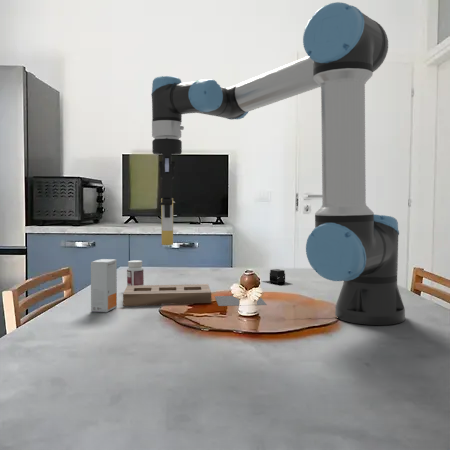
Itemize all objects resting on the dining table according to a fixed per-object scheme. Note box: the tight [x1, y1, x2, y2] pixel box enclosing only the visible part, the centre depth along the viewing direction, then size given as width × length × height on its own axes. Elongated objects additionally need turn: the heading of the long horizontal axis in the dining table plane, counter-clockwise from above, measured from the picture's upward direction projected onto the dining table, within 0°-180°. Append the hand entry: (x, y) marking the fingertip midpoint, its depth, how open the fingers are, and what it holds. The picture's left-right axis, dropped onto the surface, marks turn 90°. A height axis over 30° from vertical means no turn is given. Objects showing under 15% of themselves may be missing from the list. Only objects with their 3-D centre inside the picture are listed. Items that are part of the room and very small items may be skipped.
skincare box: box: [90, 258, 118, 313], centre depth 128 cm, size 6×4×12 cm
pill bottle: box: [126, 259, 145, 287], centre depth 154 cm, size 5×5×8 cm
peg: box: [160, 197, 174, 246], centre depth 138 cm, size 3×3×12 cm
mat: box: [214, 295, 267, 307], centre depth 137 cm, size 12×12×1 cm
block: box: [122, 283, 212, 307], centre depth 139 cm, size 12×22×3 cm, turn 96°
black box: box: [261, 268, 292, 287], centre depth 165 cm, size 12×7×5 cm, turn 33°
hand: (167, 229), depth 138 cm, fingers closed on peg, 3 cm apart
